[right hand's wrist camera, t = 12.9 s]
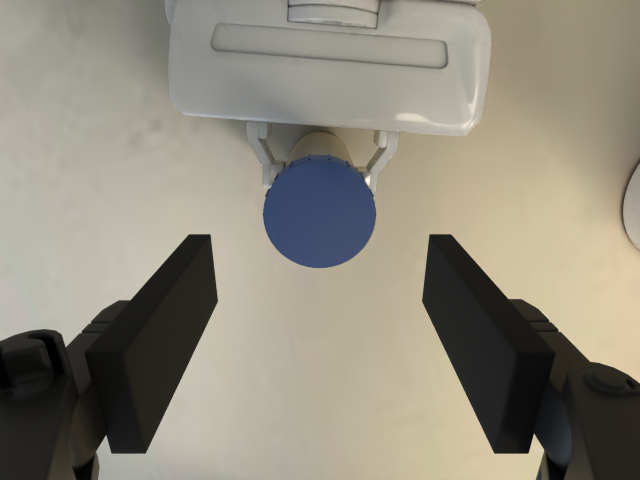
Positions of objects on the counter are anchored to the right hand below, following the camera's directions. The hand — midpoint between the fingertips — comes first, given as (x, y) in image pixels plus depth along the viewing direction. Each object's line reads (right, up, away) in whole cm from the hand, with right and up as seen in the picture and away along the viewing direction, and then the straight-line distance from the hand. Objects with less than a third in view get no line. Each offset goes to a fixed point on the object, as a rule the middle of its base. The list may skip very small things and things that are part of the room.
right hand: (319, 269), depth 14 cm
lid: (0, +2, +6) cm, 6 cm away
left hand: (0, +5, +14) cm, 15 cm away
